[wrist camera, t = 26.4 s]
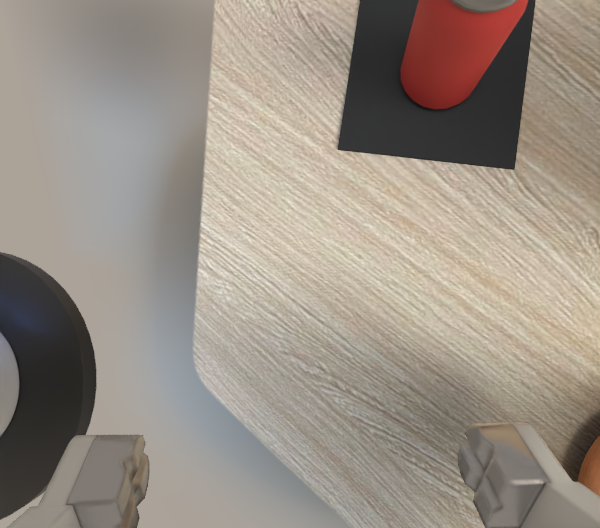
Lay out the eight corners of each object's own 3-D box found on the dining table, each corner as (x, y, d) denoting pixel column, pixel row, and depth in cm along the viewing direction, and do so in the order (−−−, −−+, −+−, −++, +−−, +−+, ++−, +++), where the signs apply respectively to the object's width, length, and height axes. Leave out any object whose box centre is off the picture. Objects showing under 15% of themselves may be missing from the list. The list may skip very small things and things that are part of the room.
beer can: (491, 88, 34) (571, -21, 22) (422, 126, 35) (465, 39, 23) (452, 26, 35) (509, -112, 23) (385, 64, 35) (408, -52, 23)
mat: (337, 149, 35) (337, 148, 35) (361, -11, 36) (362, -12, 36) (513, 169, 34) (514, 168, 34) (534, 1, 35) (535, -1, 34)
